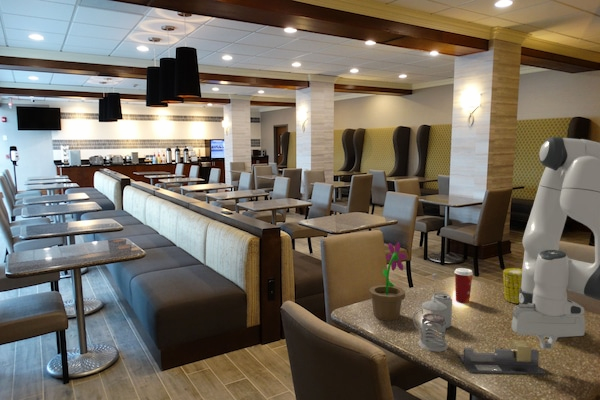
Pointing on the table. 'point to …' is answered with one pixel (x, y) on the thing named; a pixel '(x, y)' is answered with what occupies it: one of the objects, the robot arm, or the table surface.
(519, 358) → the clip
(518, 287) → the food
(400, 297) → the flowerpot
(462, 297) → the paper cup
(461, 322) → the table surface
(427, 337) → the french press
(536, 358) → the rail
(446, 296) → the can
